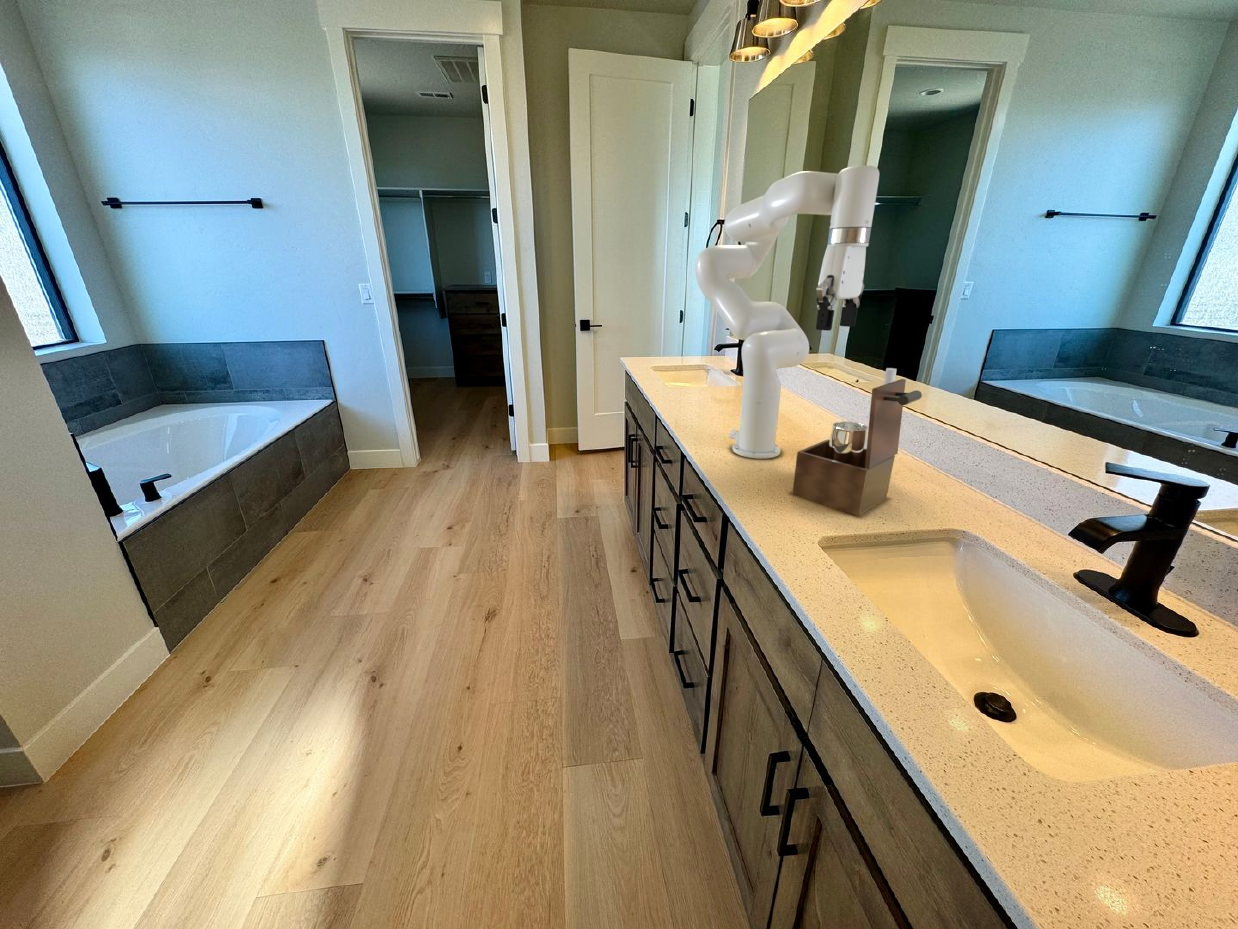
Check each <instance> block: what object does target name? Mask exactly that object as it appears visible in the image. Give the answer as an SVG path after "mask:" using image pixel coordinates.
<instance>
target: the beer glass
mask: <svg viewBox="0 0 1238 929" xmlns="http://www.w3.org/2000/svg"><path fill="white" fill-rule="evenodd" d="M868 429H869V426H868V425H866V424H863V423H860V422H855V421H836V422H834V423H832V428H831V432H830V436H829V440H830V441H829V448H828V459H831V460H834V461H838V462H842V463H845V464H849V465H853V466H856V467H860V465H861V462H862V459H863V456H864V453H865V448H866V442H867V435H868Z"/></svg>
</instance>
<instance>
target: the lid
mask: <svg viewBox="0 0 1238 929" xmlns="http://www.w3.org/2000/svg"><path fill="white" fill-rule="evenodd" d="M906 381H907V380H906V379H905V378H901V379H898V380H894V382H891V383H888V384H885V385H884V384H882V385H879V386H875V387H873V388H872V389H871V397H870V398H871V400H870V409H869V419H868V430H867V435H868V440H867V451H866V462H865V468H867V469H870V468H872V467H873V466H875V465H877V464H879V463H881V462H883V461H885V460H887V459H888V458H890V457H892V456H894V455H895V456H896V455H898V454H899V444H900V443H899V442H900V435H901V425H902V416H903V409H904V406H907V405H909V404H912V403H914V402H916V401H918V400H921V398H922V397H923V393H922V392H921V391H920V390H917V389H916V390H913V391H910V392H905V390H906V389H905V388H906Z"/></svg>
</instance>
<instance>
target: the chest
mask: <svg viewBox="0 0 1238 929" xmlns="http://www.w3.org/2000/svg"><path fill="white" fill-rule="evenodd" d="M829 441H830V438H829V439H828V438H827V439H825V440H822V441H820V442H817V443H815V444H813V445H810V446H808V447H806V448H803V449H801V450H799V451H797V453H796V459H795V460H796V461H795V468H794V475H793V476H794V478H793V485H792V493H791V494H792V495H794V496H798V497H801V498H804V499H807V500H810V501H813V502H815V503H818V504H820V505H824V506H827V507H829V508H832V509H835V510H838V511H841V512H844V513H847V514H850V515H853V516H855V517H860V516H861V515H863V514H864V513H866V512H868V511H869V510H871V509H872V508H874V507H876V506H877V505H879V504H880V503H882V502H883V501H884V500H886V499H887V497H888V493H889V492H888V491H889V488H890V482H891V479H892V478H891V477H892V473H893V467H894V463H895V457H896V455H894V456H892V457H890V458H888V459H887V460H885V461H883V462H881V463H879V464H877V465H875V466H873V467H872V468H870V469H867V468H865V462H866V451H867V449H866V448H865V453H864V456H863V459H862V462H861V465H860V467H856V466H853V465H849V464H845V463H842V462H838V461H834V460H831V459H828V448H829Z"/></svg>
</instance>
